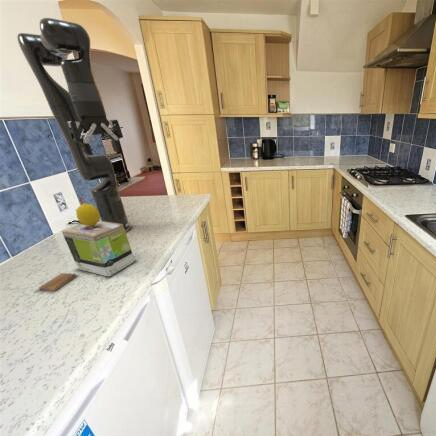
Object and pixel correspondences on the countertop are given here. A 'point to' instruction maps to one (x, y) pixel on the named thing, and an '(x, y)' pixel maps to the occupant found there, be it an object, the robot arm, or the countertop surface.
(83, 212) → the lemon
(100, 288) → the countertop surface
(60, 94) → the robot arm
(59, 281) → the tea sachet
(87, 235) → the tea box
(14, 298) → the countertop surface
